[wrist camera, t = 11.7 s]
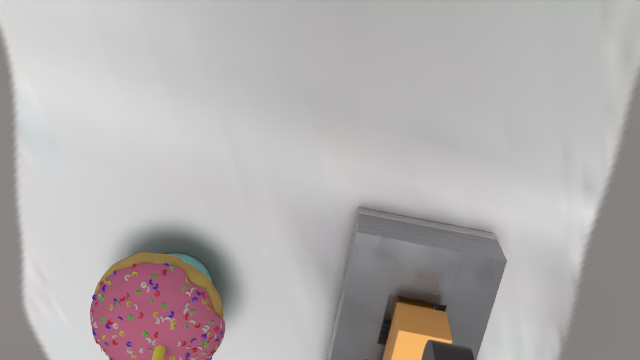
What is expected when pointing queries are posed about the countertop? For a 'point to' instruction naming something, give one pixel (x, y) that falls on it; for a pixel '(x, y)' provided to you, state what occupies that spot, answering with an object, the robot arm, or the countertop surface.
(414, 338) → the orange arch block
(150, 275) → the cupcake
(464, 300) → the metal panel
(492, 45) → the countertop surface
